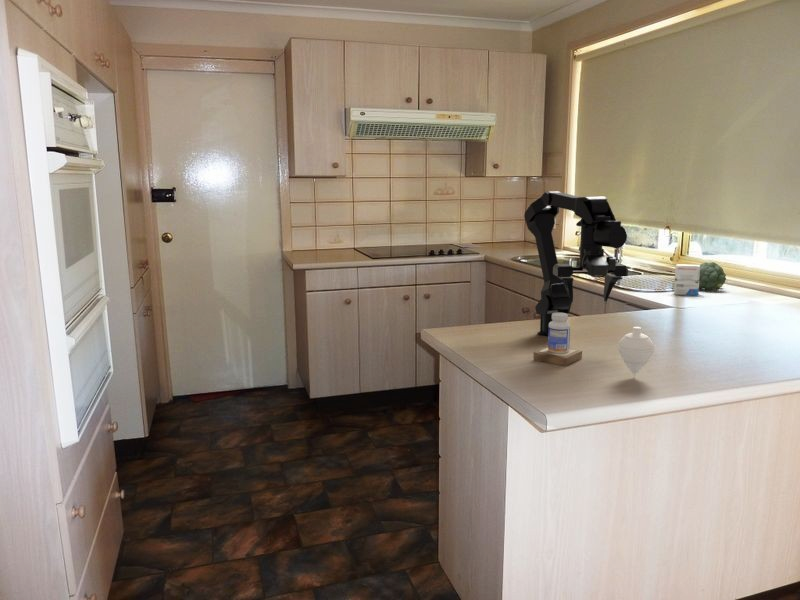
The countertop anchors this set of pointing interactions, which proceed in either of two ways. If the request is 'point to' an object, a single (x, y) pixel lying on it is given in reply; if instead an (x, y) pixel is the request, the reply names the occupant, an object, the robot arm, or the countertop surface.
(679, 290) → the ink box
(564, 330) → the pill bottle
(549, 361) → the walnut picture frame
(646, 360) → the spinning top
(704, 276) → the vegetable
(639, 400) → the countertop surface
